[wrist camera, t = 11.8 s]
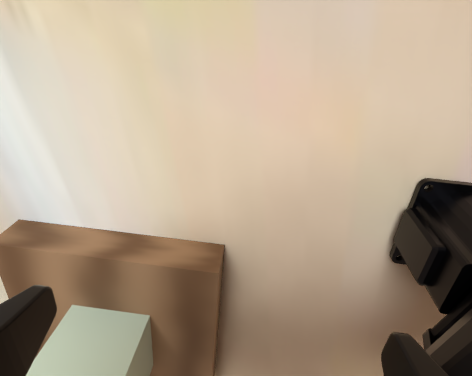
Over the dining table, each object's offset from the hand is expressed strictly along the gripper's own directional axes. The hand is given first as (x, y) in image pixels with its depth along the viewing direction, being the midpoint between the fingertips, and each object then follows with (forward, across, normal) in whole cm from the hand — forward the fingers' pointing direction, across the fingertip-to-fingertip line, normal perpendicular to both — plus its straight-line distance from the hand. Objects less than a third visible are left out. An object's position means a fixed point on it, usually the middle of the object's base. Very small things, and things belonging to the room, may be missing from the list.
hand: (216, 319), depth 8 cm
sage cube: (+10, +9, +16) cm, 21 cm away
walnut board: (+13, +9, +16) cm, 22 cm away
